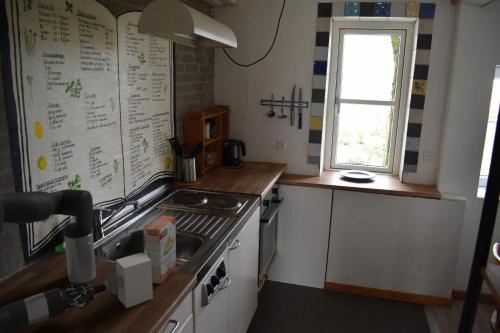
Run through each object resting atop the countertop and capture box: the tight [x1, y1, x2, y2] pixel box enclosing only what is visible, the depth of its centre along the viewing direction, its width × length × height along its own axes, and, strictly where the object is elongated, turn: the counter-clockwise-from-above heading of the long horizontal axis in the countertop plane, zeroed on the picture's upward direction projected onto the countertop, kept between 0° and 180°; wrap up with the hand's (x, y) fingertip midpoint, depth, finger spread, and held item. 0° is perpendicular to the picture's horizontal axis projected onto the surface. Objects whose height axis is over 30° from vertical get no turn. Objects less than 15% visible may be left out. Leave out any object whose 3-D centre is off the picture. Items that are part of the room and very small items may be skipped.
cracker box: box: [145, 215, 177, 285], centre depth 141 cm, size 14×6×21 cm, turn 168°
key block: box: [115, 252, 154, 309], centre depth 126 cm, size 7×9×14 cm
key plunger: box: [106, 272, 123, 296], centre depth 123 cm, size 5×8×5 cm, turn 130°
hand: (105, 286), depth 119 cm, fingers closed
